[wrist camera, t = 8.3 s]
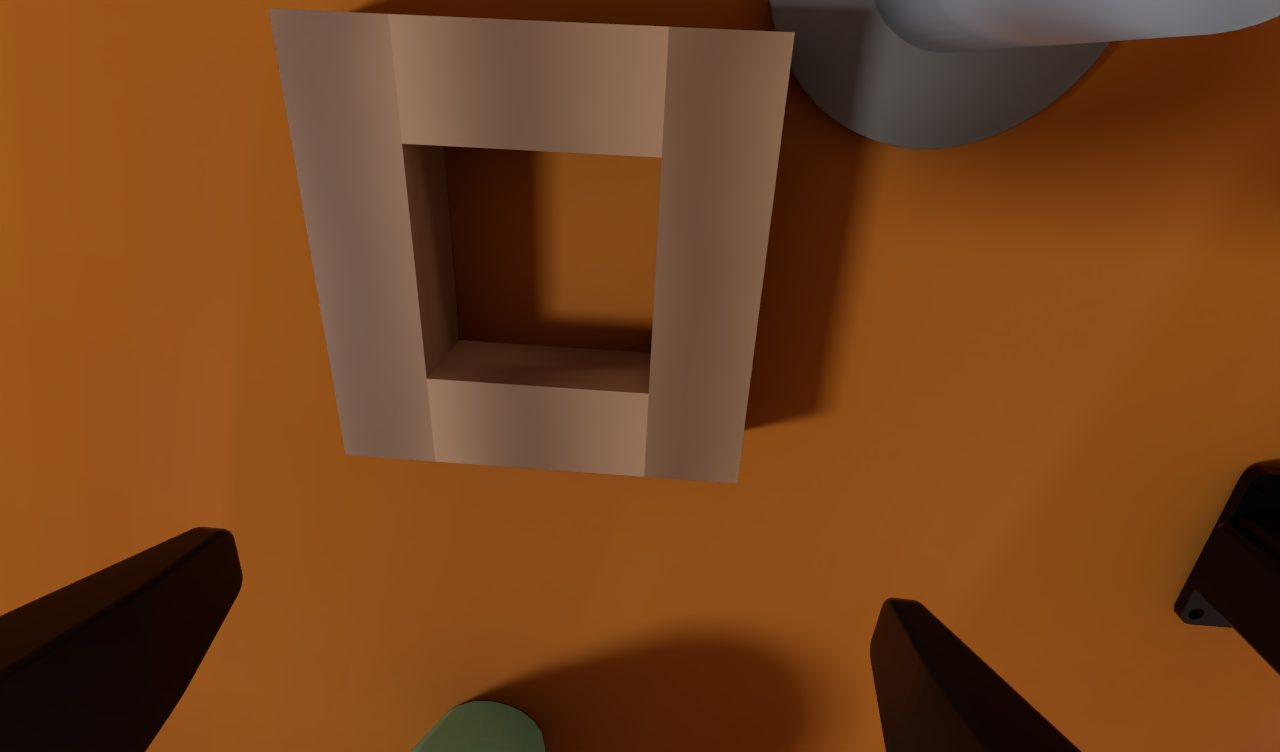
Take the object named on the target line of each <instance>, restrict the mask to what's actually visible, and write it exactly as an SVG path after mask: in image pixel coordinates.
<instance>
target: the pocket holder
mask: <svg viewBox="0 0 1280 752" xmlns="http://www.w3.org/2000/svg"><path fill="white" fill-rule="evenodd" d="M269 13H270V19H271V25H272V31H273V37H274V42H275V48H276V54H277V60H278V66H279V71H280V77H281V83H282V89H283V95H284V100H285V106H286V112H287V118H288V124H289V129H290V135H291V141H292V147H293V153H294V158H295V164H296V170H297V176H298V182H299V187H300V193H301V199H302V205H303V211H304V216H305V222H306V228H307V234H308V240H309V245H310V251H311V257H312V263H313V268H314V274H315V280H316V286H317V292H318V297H319V303H320V309H321V315H322V321H323V326H324V332H325V338H326V344H327V350H328V355H329V361H330V367H331V373H332V379H333V384H334V390H335V396H336V402H337V408H338V413H339V419H340V425H341V431H342V437H343V442H344V448H345V454H346V455H354V456H367V457H381V458H395V459H409V460H422V461H436V462H450V463H463V464H477V465H491V466H504V467H518V468H532V469H546V470H559V471H573V472H587V473H600V474H614V475H628V476H641V477H655V478H669V479H683V480H696V481H710V482H724V483H737V482H738V474H739V466H740V458H741V450H742V443H743V435H744V427H745V419H746V411H747V403H748V396H749V388H750V380H751V372H752V364H753V356H754V348H755V341H756V333H757V325H758V317H759V309H760V301H761V294H762V286H763V278H764V270H765V262H766V254H767V247H768V239H769V231H770V223H771V215H772V207H773V199H774V192H775V184H776V176H777V168H778V160H779V152H780V145H781V137H782V129H783V121H784V113H785V105H786V98H787V90H788V82H789V74H790V66H791V58H792V50H793V43H794V35H795V32H776V31H754V30H732V29H710V28H688V27H666V26H644V25H622V24H599V23H577V22H555V21H533V20H511V19H489V18H467V17H445V16H423V15H400V14H378V13H356V12H334V11H312V10H290V9H269ZM444 146H455V147H474V148H492V149H511V150H530V151H549V152H567V153H586V154H605V155H624V156H642V157H661V158H662V162H661V180H660V198H659V217H658V235H657V253H656V271H655V289H654V308H653V326H652V344H651V353H650V352H635V351H619V350H604V349H589V348H574V347H558V346H543V345H528V344H512V343H497V342H482V341H466V340H459V327H458V315H457V302H456V290H455V277H454V264H453V252H452V239H451V226H450V214H449V201H448V188H447V176H446V163H445V151H444Z"/></svg>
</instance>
